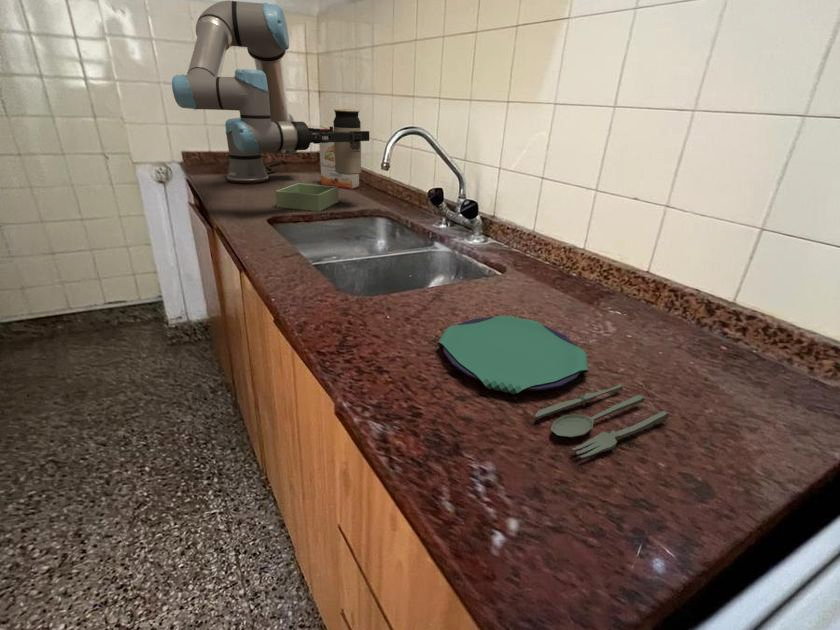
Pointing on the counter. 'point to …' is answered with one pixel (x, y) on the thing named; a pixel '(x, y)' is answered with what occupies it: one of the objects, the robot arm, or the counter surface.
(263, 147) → the robot arm
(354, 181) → the cracker box
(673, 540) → the counter surface
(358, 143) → the travel mug
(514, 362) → the cutlery set
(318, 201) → the crate
